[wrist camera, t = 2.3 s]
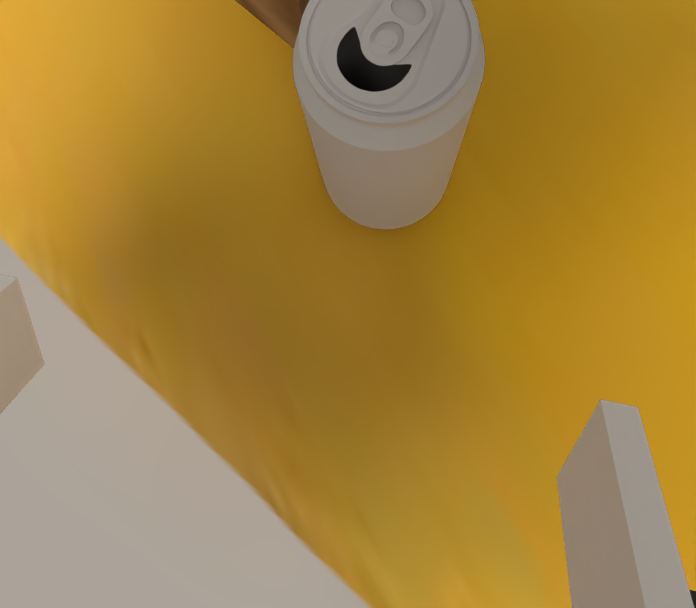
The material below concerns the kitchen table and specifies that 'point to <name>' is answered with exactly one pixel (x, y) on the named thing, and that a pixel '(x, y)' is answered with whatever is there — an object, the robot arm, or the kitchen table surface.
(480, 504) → the kitchen table surface
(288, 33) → the walnut riser
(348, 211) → the beverage can
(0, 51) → the kitchen table surface
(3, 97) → the kitchen table surface
